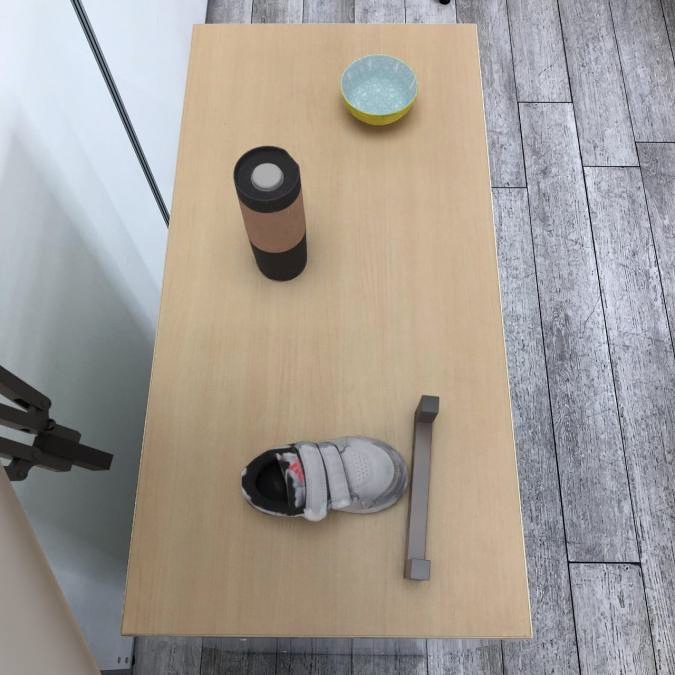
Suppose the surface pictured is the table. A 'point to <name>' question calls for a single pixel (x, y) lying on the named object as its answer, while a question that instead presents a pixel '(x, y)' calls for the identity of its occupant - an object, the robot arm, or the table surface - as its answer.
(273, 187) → the travel mug
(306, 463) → the sneaker
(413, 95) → the bowl
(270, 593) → the table surface
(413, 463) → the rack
